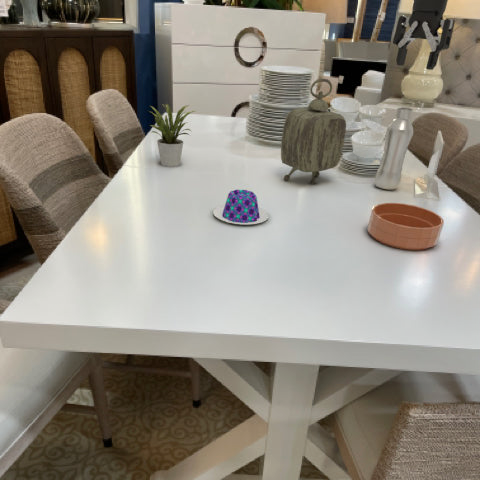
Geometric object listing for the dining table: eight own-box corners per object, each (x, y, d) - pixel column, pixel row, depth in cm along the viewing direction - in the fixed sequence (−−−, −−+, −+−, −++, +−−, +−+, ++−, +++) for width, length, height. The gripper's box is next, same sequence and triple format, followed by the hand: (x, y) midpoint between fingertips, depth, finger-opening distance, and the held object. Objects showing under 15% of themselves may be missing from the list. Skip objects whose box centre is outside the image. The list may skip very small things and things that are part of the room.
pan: (425, 227, 105) (431, 205, 102) (445, 255, 93) (453, 231, 90) (361, 222, 105) (366, 200, 102) (374, 249, 93) (379, 225, 90)
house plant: (202, 159, 138) (204, 99, 129) (198, 173, 127) (199, 107, 118) (154, 155, 138) (152, 94, 129) (145, 169, 126) (142, 102, 117)
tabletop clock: (316, 174, 134) (332, 76, 120) (339, 183, 128) (358, 81, 114) (276, 180, 127) (288, 76, 113) (298, 190, 121) (314, 82, 107)
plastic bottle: (373, 183, 131) (391, 105, 120) (398, 187, 129) (419, 108, 118) (371, 189, 125) (390, 108, 114) (397, 194, 124) (419, 112, 113)
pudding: (206, 208, 105) (207, 185, 102) (256, 205, 109) (258, 183, 106) (222, 229, 96) (224, 204, 93) (276, 225, 99) (279, 201, 97)
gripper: (471, -11, 105) (448, 71, 114) (416, -12, 114) (399, 64, 123) (452, -14, 101) (430, 71, 110) (397, -15, 110) (381, 64, 119)
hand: (414, 67), depth 116 cm, fingers open, 8 cm apart
